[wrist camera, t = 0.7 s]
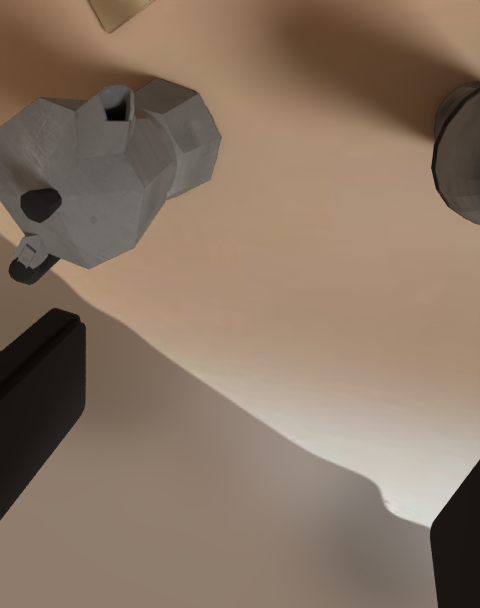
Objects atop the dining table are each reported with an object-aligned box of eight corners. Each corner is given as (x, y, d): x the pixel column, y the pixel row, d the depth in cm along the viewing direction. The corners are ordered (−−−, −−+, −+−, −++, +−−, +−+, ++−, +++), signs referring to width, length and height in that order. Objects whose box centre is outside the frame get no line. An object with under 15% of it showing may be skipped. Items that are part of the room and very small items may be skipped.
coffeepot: (166, 24, 33) (-6, 12, 18) (262, 115, 34) (177, 174, 19) (77, 179, 41) (-92, 261, 26) (158, 247, 43) (42, 361, 27)
